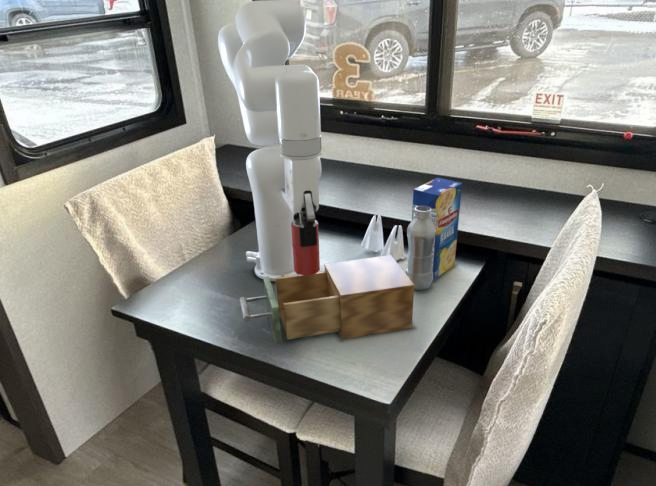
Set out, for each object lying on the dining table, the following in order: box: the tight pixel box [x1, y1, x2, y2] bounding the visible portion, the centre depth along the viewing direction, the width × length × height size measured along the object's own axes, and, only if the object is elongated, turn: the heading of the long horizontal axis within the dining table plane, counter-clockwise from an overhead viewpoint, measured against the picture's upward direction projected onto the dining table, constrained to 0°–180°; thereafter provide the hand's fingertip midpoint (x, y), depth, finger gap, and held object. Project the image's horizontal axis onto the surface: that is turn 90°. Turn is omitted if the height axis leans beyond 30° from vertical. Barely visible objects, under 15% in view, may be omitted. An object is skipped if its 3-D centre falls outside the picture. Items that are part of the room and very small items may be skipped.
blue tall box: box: [411, 177, 463, 281], centre depth 135 cm, size 7×11×22 cm, turn 140°
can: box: [291, 218, 321, 275], centre depth 108 cm, size 5×5×10 cm
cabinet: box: [323, 255, 415, 340], centre depth 120 cm, size 16×15×11 cm
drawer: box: [239, 270, 341, 345], centre depth 116 cm, size 20×13×9 cm, turn 104°
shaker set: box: [360, 214, 405, 262], centre depth 146 cm, size 12×4×11 cm, turn 52°
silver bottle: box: [405, 206, 436, 291], centre depth 128 cm, size 6×7×20 cm
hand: (305, 238), depth 107 cm, fingers closed on can, 5 cm apart
